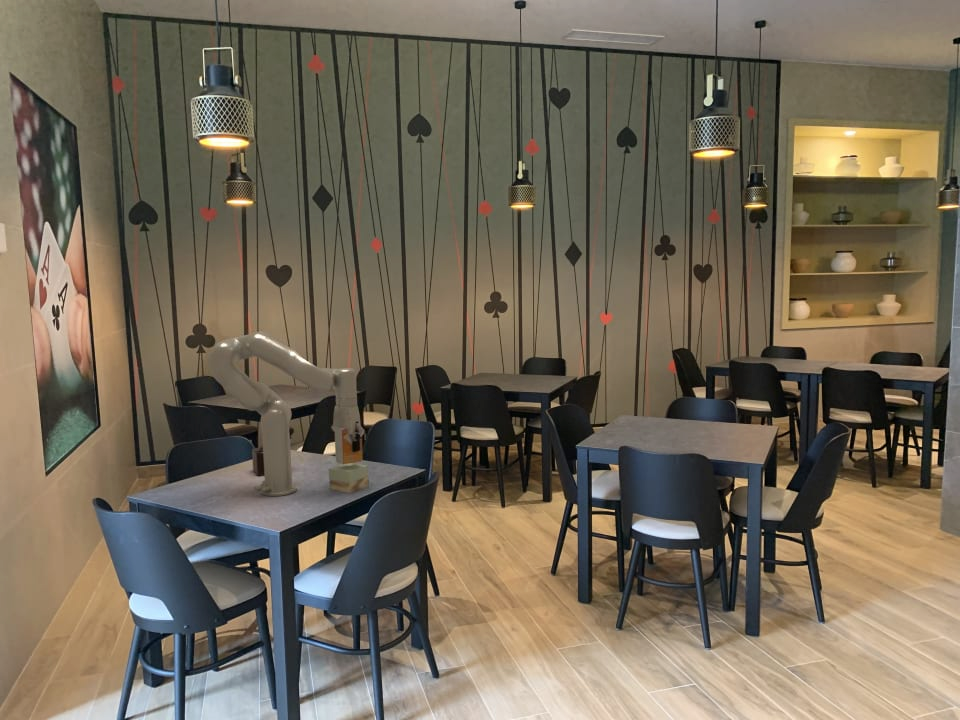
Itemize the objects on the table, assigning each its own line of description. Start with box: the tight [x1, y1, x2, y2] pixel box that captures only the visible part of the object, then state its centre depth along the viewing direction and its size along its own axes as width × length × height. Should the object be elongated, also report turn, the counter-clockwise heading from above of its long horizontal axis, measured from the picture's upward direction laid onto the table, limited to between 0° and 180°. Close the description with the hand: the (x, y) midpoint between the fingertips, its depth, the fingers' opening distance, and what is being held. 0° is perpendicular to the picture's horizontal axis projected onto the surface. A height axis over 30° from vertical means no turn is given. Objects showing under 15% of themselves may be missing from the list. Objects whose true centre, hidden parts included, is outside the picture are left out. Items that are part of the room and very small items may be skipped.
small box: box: [334, 427, 364, 465], centre depth 268 cm, size 8×6×13 cm
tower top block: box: [328, 463, 369, 483], centre depth 269 cm, size 10×10×4 cm
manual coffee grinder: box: [251, 426, 295, 477], centre depth 296 cm, size 16×11×18 cm
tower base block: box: [329, 476, 370, 494], centre depth 270 cm, size 10×10×4 cm
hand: (348, 449), depth 269 cm, fingers closed on small box, 7 cm apart
